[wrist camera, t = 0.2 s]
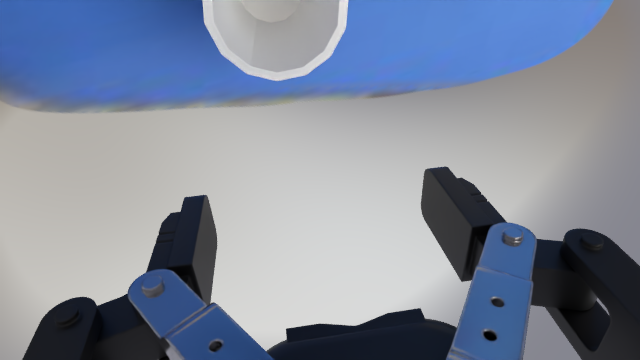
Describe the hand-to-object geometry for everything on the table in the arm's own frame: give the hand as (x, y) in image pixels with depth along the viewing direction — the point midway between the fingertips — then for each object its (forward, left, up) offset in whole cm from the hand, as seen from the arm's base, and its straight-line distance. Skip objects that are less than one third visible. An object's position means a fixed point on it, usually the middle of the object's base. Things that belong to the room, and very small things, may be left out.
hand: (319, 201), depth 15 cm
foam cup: (-4, 0, -29) cm, 29 cm away
